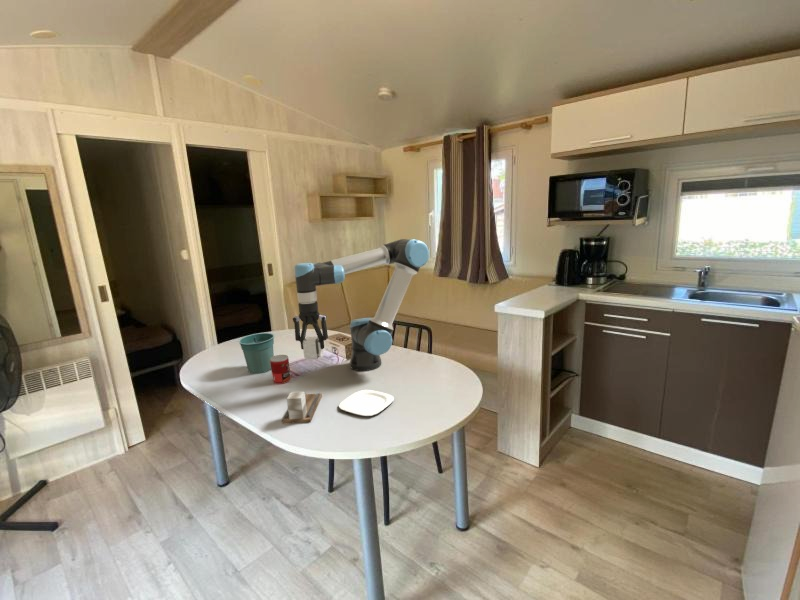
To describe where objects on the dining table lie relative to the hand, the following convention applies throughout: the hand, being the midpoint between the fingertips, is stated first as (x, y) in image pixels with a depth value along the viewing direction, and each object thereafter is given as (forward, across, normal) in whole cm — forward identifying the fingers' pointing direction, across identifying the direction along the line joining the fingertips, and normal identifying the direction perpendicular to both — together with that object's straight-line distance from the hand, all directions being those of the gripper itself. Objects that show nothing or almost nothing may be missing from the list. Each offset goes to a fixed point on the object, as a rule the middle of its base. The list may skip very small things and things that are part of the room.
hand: (313, 356), depth 156 cm
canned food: (+15, +20, -10) cm, 27 cm away
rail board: (+15, 0, +16) cm, 22 cm away
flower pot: (+15, +36, -23) cm, 46 cm away
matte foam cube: (0, 0, 0) cm, 0 cm away
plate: (+15, -24, +13) cm, 31 cm away
